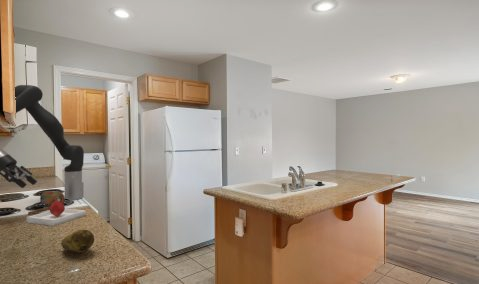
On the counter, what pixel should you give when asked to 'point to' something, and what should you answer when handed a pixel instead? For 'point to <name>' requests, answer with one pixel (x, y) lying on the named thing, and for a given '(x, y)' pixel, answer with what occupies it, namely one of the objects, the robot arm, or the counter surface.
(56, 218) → the tray
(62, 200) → the tin
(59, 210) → the red rounded lump
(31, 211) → the collar
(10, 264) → the counter surface
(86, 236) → the potato
